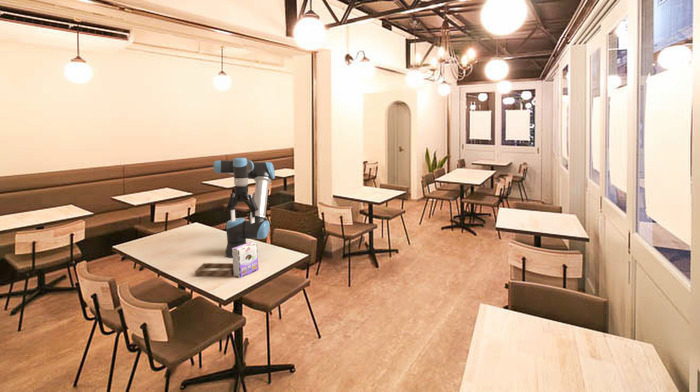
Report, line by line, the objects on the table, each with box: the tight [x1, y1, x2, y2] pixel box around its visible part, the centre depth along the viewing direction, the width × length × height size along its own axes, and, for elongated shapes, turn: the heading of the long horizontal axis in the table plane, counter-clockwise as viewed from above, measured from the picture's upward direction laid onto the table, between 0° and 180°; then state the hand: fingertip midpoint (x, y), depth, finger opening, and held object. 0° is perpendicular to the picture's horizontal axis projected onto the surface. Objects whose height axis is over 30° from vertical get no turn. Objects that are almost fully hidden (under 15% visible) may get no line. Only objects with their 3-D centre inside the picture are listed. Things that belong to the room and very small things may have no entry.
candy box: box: [231, 241, 259, 279], centre depth 225 cm, size 14×6×16 cm, turn 145°
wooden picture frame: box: [194, 262, 234, 278], centre depth 227 cm, size 20×12×3 cm, turn 88°
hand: (242, 222), depth 226 cm, fingers open, 13 cm apart
